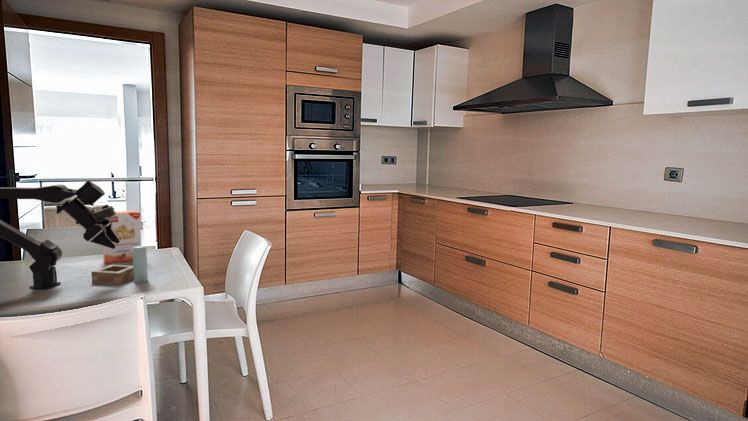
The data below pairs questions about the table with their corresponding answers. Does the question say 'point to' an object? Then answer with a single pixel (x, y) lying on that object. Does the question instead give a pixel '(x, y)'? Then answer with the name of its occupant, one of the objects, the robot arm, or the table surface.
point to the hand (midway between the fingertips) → (116, 245)
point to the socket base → (113, 274)
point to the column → (140, 264)
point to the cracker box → (124, 236)
